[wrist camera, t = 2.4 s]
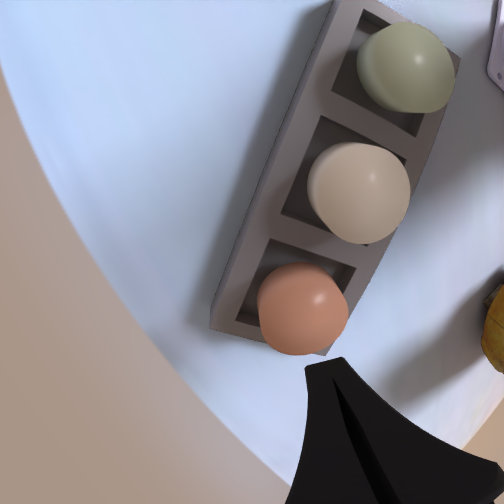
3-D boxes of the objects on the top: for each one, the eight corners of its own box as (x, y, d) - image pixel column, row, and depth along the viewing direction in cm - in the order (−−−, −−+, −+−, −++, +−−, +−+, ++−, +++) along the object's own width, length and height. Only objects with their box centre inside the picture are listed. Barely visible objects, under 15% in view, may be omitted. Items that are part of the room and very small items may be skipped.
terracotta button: (348, 275, 15) (363, 295, 13) (314, 337, 17) (323, 361, 15) (275, 250, 14) (282, 270, 13) (245, 320, 16) (247, 345, 14)
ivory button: (401, 164, 13) (423, 171, 11) (367, 239, 15) (384, 256, 13) (327, 126, 12) (344, 127, 11) (292, 210, 14) (302, 224, 12)
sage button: (438, 60, 11) (462, 56, 9) (415, 127, 12) (439, 130, 11) (371, 16, 10) (391, 4, 9) (344, 86, 12) (362, 81, 10)
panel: (439, 62, 13) (460, 58, 11) (317, 335, 19) (325, 356, 18) (334, -2, 12) (347, -16, 10) (210, 307, 18) (209, 328, 16)
